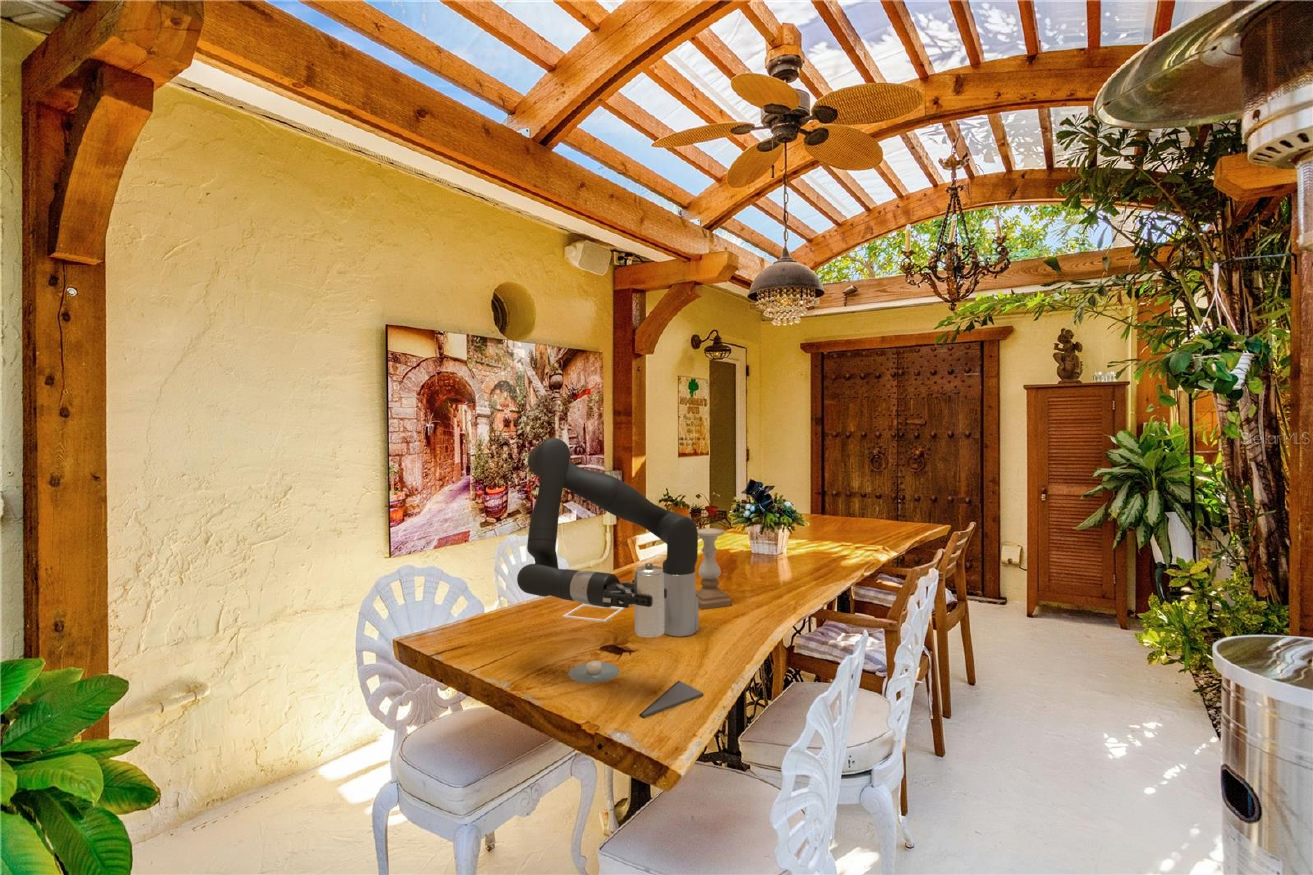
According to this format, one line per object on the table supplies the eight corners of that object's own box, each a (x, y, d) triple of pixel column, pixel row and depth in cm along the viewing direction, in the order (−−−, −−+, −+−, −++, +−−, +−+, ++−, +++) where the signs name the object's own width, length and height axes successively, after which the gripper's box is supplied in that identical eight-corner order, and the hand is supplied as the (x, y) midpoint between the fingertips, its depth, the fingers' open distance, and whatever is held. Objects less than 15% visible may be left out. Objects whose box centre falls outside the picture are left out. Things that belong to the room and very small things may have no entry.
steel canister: (644, 626, 137) (643, 560, 137) (668, 630, 135) (667, 562, 134) (630, 634, 132) (630, 565, 132) (655, 639, 129) (654, 568, 129)
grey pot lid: (602, 662, 152) (602, 650, 152) (629, 677, 142) (629, 664, 142) (559, 674, 145) (559, 662, 145) (584, 692, 135) (584, 678, 135)
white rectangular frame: (629, 603, 200) (605, 619, 183) (629, 606, 200) (605, 623, 183) (589, 599, 205) (562, 615, 188) (589, 602, 205) (562, 618, 188)
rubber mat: (658, 672, 145) (658, 670, 145) (703, 695, 132) (703, 693, 132) (601, 691, 135) (601, 688, 135) (643, 718, 122) (643, 715, 122)
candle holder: (688, 600, 203) (686, 529, 203) (717, 596, 207) (716, 526, 207) (702, 609, 193) (700, 534, 193) (732, 605, 197) (731, 532, 197)
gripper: (576, 579, 134) (642, 588, 126) (611, 565, 146) (673, 573, 138) (576, 613, 134) (643, 624, 126) (611, 596, 146) (674, 606, 138)
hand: (658, 597), depth 132 cm, fingers closed on steel canister, 6 cm apart
